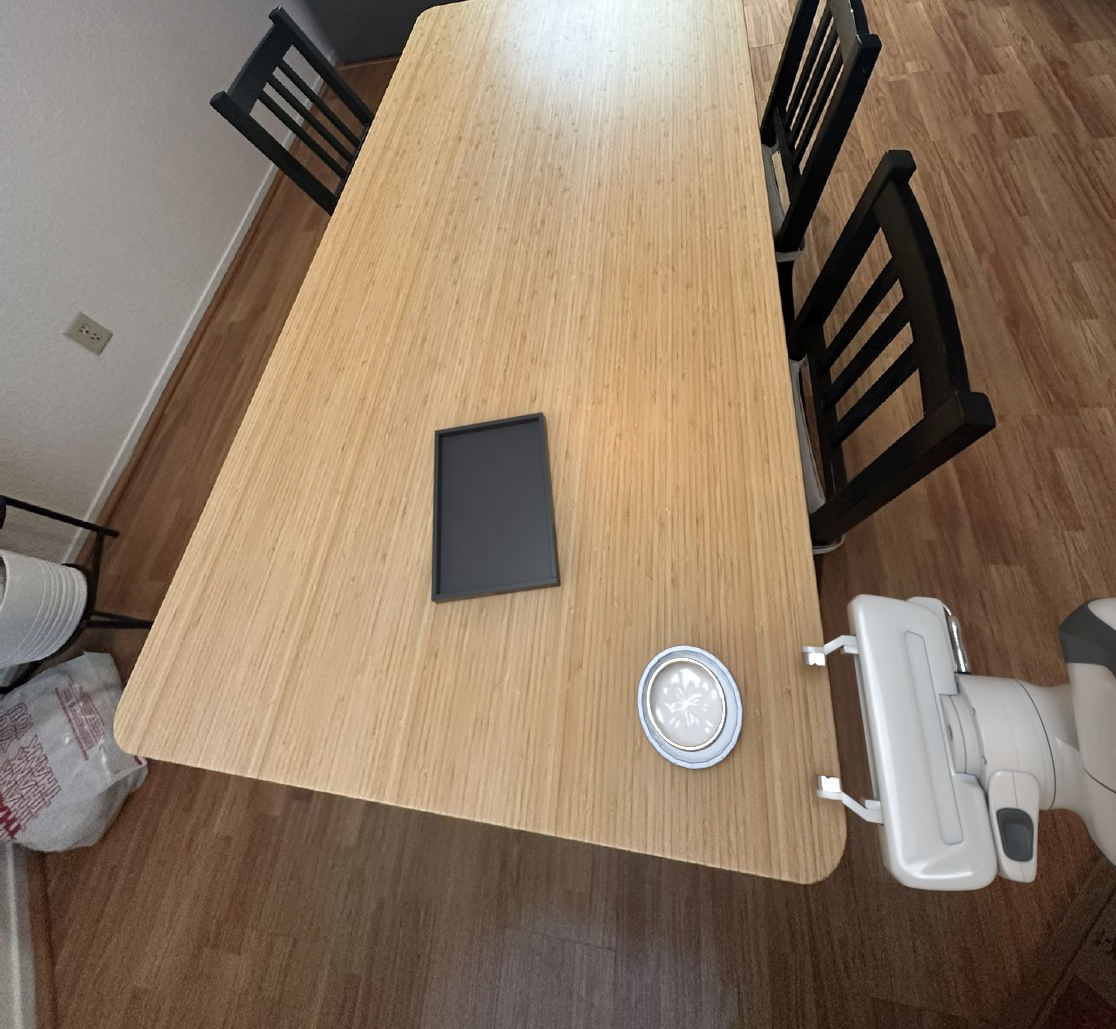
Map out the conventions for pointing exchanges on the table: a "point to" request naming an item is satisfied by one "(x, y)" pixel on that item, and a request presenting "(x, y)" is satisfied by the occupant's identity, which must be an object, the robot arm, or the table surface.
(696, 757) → the bowl
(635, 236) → the table surface
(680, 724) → the silver goblet
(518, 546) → the tray
